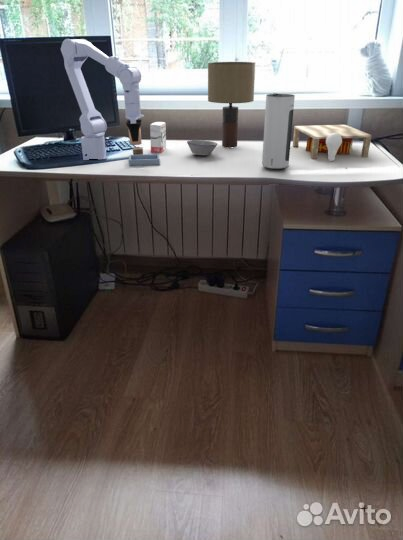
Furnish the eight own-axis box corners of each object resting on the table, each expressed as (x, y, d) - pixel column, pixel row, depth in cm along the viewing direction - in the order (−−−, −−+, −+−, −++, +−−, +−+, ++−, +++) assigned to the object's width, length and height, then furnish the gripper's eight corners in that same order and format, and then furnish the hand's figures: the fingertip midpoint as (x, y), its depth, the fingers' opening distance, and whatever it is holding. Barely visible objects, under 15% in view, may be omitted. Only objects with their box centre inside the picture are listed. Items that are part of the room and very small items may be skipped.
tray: (129, 165, 166) (128, 160, 165) (129, 160, 174) (129, 155, 173) (159, 164, 167) (159, 159, 166) (159, 159, 175) (158, 154, 174)
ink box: (161, 153, 185) (160, 125, 179) (150, 152, 186) (148, 124, 180) (167, 149, 192) (165, 121, 187) (156, 148, 193) (154, 121, 188)
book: (305, 151, 187) (307, 140, 184) (311, 146, 197) (312, 135, 195) (348, 155, 180) (350, 143, 178) (351, 149, 191) (353, 137, 188)
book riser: (312, 158, 174) (314, 136, 170) (292, 145, 196) (294, 126, 192) (367, 156, 176) (371, 135, 172) (342, 144, 199) (344, 124, 195)
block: (133, 159, 176) (132, 149, 174) (133, 157, 179) (133, 147, 177) (143, 159, 176) (142, 149, 174) (143, 156, 180) (142, 147, 178)
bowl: (180, 153, 179) (181, 141, 177) (196, 149, 189) (196, 138, 187) (207, 157, 173) (208, 145, 171) (221, 154, 184) (222, 142, 182)
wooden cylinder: (129, 145, 164) (128, 129, 161) (130, 142, 168) (128, 127, 165) (141, 144, 165) (140, 128, 162) (141, 142, 169) (140, 126, 166)
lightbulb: (339, 160, 172) (343, 132, 166) (338, 163, 167) (342, 134, 161) (323, 159, 173) (327, 131, 168) (322, 162, 168) (326, 134, 163)
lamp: (258, 144, 200) (263, 62, 183) (238, 152, 185) (241, 63, 168) (221, 140, 209) (222, 61, 193) (199, 147, 194) (198, 63, 178)
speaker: (282, 170, 158) (288, 95, 146) (257, 166, 163) (260, 94, 151) (292, 164, 166) (299, 92, 154) (268, 161, 171) (272, 91, 159)
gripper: (143, 105, 153) (145, 143, 160) (143, 100, 166) (145, 136, 173) (123, 105, 153) (126, 144, 159) (125, 101, 165) (128, 136, 172)
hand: (135, 140), depth 166 cm, fingers closed on wooden cylinder, 4 cm apart
